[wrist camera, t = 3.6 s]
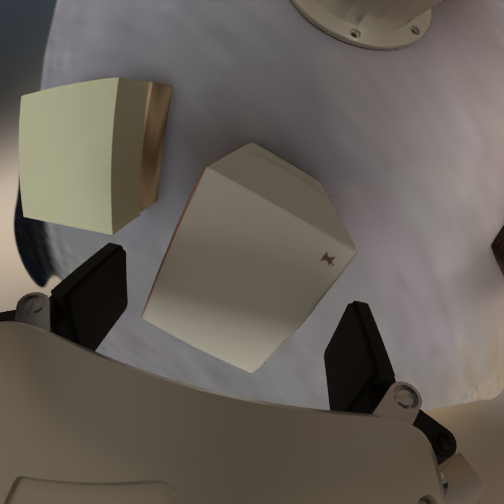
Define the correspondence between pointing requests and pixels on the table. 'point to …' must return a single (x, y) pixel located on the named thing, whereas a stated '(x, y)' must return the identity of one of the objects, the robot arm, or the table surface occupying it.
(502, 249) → the manual coffee grinder
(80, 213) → the tower top block
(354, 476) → the robot arm
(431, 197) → the table surface
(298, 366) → the table surface
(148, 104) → the tower base block
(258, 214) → the small box
